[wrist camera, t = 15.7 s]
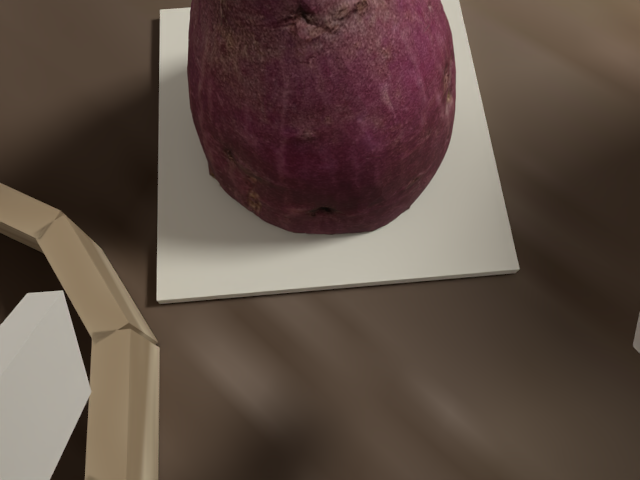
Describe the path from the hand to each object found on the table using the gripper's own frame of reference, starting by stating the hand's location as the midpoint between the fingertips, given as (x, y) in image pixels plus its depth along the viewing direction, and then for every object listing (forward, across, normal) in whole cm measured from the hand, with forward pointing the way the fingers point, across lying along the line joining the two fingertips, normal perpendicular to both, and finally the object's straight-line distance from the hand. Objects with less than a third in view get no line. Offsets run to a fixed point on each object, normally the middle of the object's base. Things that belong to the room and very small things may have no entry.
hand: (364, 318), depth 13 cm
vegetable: (+13, 0, +1) cm, 13 cm away
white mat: (+13, 0, +1) cm, 13 cm away
